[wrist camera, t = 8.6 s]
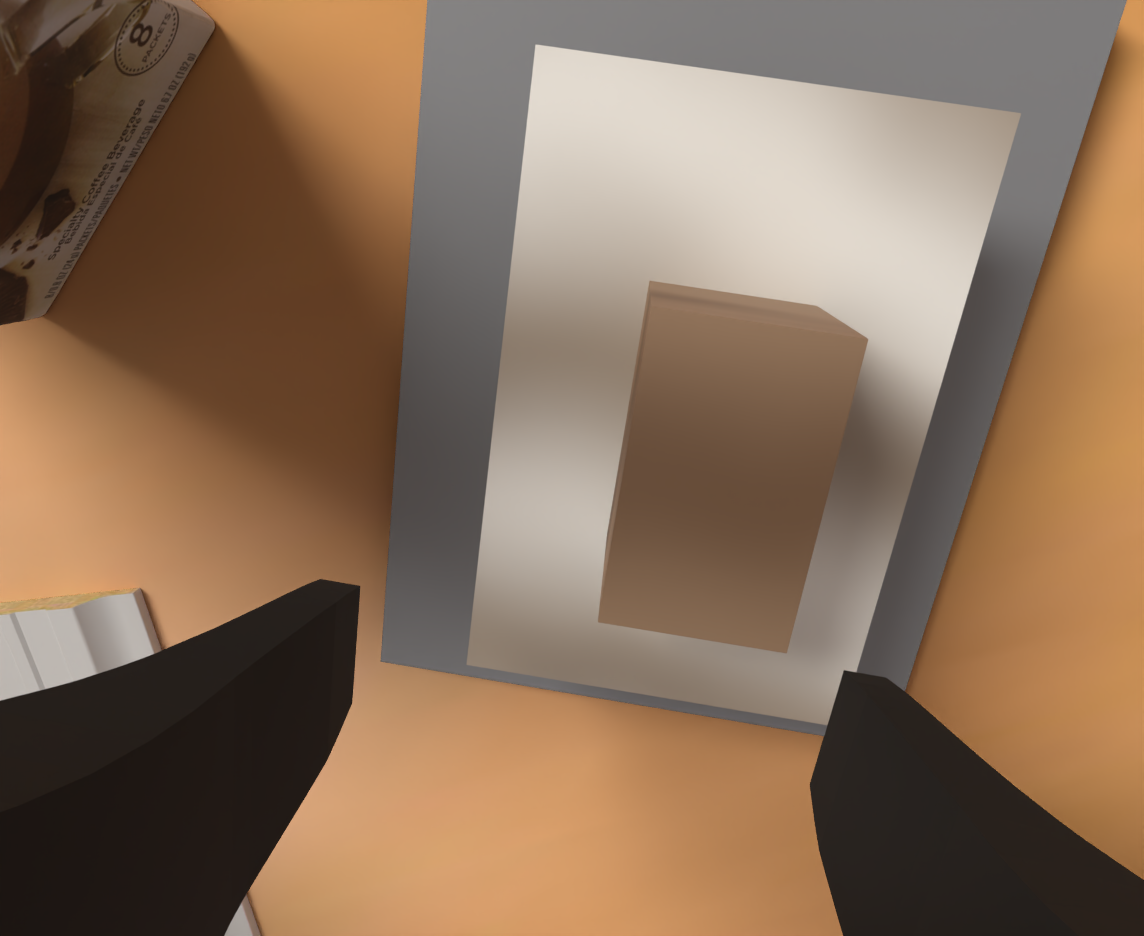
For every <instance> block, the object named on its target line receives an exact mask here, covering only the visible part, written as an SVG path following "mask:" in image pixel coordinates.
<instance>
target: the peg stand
mask: <svg viewBox="0 0 1144 936" xmlns="http://www.w3.org/2000/svg"><path fill="white" fill-rule="evenodd" d="M1126 1H1127V0H427V15H426V29H425V43H424V57H423V71H422V85H421V99H420V114H419V128H418V142H417V156H416V170H415V184H414V198H413V212H412V227H411V241H410V255H409V269H408V283H407V297H406V311H405V325H404V340H403V354H402V368H401V382H400V396H399V410H398V424H397V439H396V453H395V467H394V481H393V495H392V509H391V523H390V537H389V552H388V566H387V580H386V594H385V608H384V622H383V636H382V650H381V662H386V663H392V664H398V665H404V666H410V667H416V668H422V669H428V670H434V671H440V672H446V673H452V674H458V675H464V676H470V677H476V678H482V679H488V680H494V681H500V682H505V683H511V684H517V685H523V686H529V687H535V688H541V689H547V690H553V691H559V692H565V693H571V694H577V695H583V696H589V697H595V698H601V699H607V700H613V701H619V702H624V703H630V704H636V705H642V706H648V707H654V708H660V709H666V710H672V711H678V712H684V713H690V714H696V715H702V716H708V717H714V718H720V719H726V720H732V721H738V722H744V723H749V724H755V725H761V726H767V727H773V728H779V729H785V730H791V731H797V732H803V733H809V734H815V735H821V736H824V735H825V732H826V728H827V725H823V724H817V723H811V722H805V721H799V720H793V719H787V718H781V717H775V716H769V715H763V714H757V713H751V712H745V711H739V710H733V709H727V708H721V707H715V706H709V705H703V704H697V703H692V702H686V701H680V700H674V699H668V698H662V697H656V696H650V695H644V694H638V693H632V692H626V691H620V690H614V689H608V688H602V687H596V686H590V685H584V684H578V683H572V682H566V681H560V680H554V679H548V678H542V677H536V676H530V675H525V674H519V673H513V672H507V671H501V670H495V669H489V668H483V667H477V666H471V665H467V656H468V647H469V638H470V629H471V620H472V611H473V602H474V593H475V584H476V575H477V566H478V557H479V548H480V539H481V530H482V521H483V512H484V503H485V494H486V485H487V476H488V467H489V458H490V449H491V440H492V431H493V422H494V413H495V404H496V395H497V386H498V377H499V368H500V359H501V350H502V341H503V332H504V323H505V314H506V305H507V296H508V287H509V279H510V270H511V261H512V252H513V243H514V234H515V225H516V216H517V207H518V198H519V189H520V180H521V171H522V162H523V153H524V144H525V135H526V126H527V117H528V108H529V99H530V90H531V81H532V72H533V63H534V54H535V45H543V46H550V47H557V48H564V49H571V50H578V51H585V52H592V53H599V54H606V55H614V56H621V57H628V58H635V59H642V60H649V61H656V62H663V63H670V64H677V65H684V66H691V67H698V68H705V69H712V70H719V71H726V72H734V73H741V74H748V75H755V76H762V77H769V78H776V79H783V80H790V81H797V82H804V83H811V84H818V85H825V86H832V87H839V88H846V89H854V90H861V91H868V92H875V93H882V94H889V95H896V96H903V97H910V98H917V99H924V100H931V101H938V102H945V103H952V104H959V105H966V106H973V107H981V108H988V109H995V110H1002V111H1009V112H1016V113H1021V116H1020V119H1019V123H1018V126H1017V129H1016V133H1015V136H1014V140H1013V143H1012V146H1011V150H1010V153H1009V156H1008V160H1007V163H1006V167H1005V170H1004V173H1003V177H1002V180H1001V184H1000V187H999V190H998V194H997V197H996V201H995V204H994V207H993V211H992V214H991V217H990V221H989V224H988V228H987V231H986V234H985V238H984V241H983V245H982V248H981V251H980V255H979V258H978V262H977V265H976V268H975V272H974V275H973V278H972V282H971V285H970V289H969V292H968V295H967V299H966V302H965V306H964V309H963V312H962V316H961V319H960V322H959V326H958V329H957V333H956V336H955V339H954V343H953V346H952V350H951V353H950V356H949V360H948V363H947V367H946V370H945V373H944V377H943V380H942V383H941V387H940V390H939V394H938V397H937V400H936V404H935V407H934V411H933V414H932V417H931V421H930V424H929V427H928V431H927V434H926V438H925V441H924V444H923V448H922V451H921V455H920V458H919V461H918V465H917V468H916V472H915V475H914V478H913V482H912V485H911V488H910V492H909V495H908V499H907V502H906V505H905V509H904V512H903V516H902V519H901V522H900V526H899V529H898V532H897V536H896V539H895V543H894V546H893V549H892V553H891V556H890V560H889V563H888V566H887V570H886V573H885V577H884V580H883V583H882V587H881V590H880V593H879V597H878V600H877V604H876V607H875V610H874V614H873V617H872V621H871V624H870V627H869V631H868V634H867V637H866V641H865V644H864V648H863V651H862V654H861V658H860V661H859V665H858V668H857V671H856V672H858V673H863V674H869V675H875V676H881V677H886V678H887V679H889V680H890V681H892V682H893V683H894V684H896V685H897V686H898V687H900V688H901V689H902V690H903V691H905V690H906V686H907V683H908V680H909V677H910V674H911V671H912V668H913V665H914V662H915V658H916V655H917V652H918V649H919V646H920V643H921V640H922V637H923V634H924V630H925V627H926V624H927V621H928V618H929V615H930V612H931V609H932V605H933V602H934V599H935V596H936V593H937V590H938V587H939V584H940V581H941V577H942V574H943V571H944V568H945V565H946V562H947V559H948V556H949V552H950V549H951V546H952V543H953V540H954V537H955V534H956V531H957V528H958V524H959V521H960V518H961V515H962V512H963V509H964V506H965V503H966V500H967V496H968V493H969V490H970V487H971V484H972V481H973V478H974V475H975V471H976V468H977V465H978V462H979V459H980V456H981V453H982V450H983V447H984V443H985V440H986V437H987V434H988V431H989V428H990V425H991V422H992V418H993V415H994V412H995V409H996V406H997V403H998V400H999V397H1000V394H1001V390H1002V387H1003V384H1004V381H1005V378H1006V375H1007V372H1008V369H1009V366H1010V362H1011V359H1012V356H1013V353H1014V350H1015V347H1016V344H1017V341H1018V337H1019V334H1020V331H1021V328H1022V325H1023V322H1024V319H1025V316H1026V313H1027V309H1028V306H1029V303H1030V300H1031V297H1032V294H1033V291H1034V288H1035V285H1036V281H1037V278H1038V275H1039V272H1040V269H1041V266H1042V263H1043V260H1044V256H1045V253H1046V250H1047V247H1048V244H1049V241H1050V238H1051V235H1052V232H1053V228H1054V225H1055V222H1056V219H1057V216H1058V213H1059V210H1060V207H1061V203H1062V200H1063V197H1064V194H1065V191H1066V188H1067V185H1068V182H1069V179H1070V175H1071V172H1072V169H1073V166H1074V163H1075V160H1076V157H1077V154H1078V151H1079V147H1080V144H1081V141H1082V138H1083V135H1084V132H1085V129H1086V126H1087V122H1088V119H1089V116H1090V113H1091V110H1092V107H1093V104H1094V101H1095V98H1096V94H1097V91H1098V88H1099V85H1100V82H1101V79H1102V76H1103V73H1104V70H1105V66H1106V63H1107V60H1108V57H1109V54H1110V51H1111V48H1112V45H1113V41H1114V38H1115V35H1116V32H1117V29H1118V26H1119V23H1120V20H1121V17H1122V13H1123V10H1124V7H1125V4H1126Z"/></svg>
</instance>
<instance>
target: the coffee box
mask: <svg viewBox="0 0 1144 936" xmlns="http://www.w3.org/2000/svg"><path fill="white" fill-rule="evenodd" d="M214 29H215V23H214V21H213V20H212V19H211V18H210V17H209V16H208V15H207V13H205V12H204V11H203V10H202V9H201V8H200V7H198V6H197V5H196V4H195V3H194V2H193V1H192V0H0V325H4V324H9V323H13V322H20V321H26V320H30V319H33V318H38V317H41V316H43V315H44V314H46V312H47V310H48V309H49V307H50V306H51V304H52V302H53V301H54V299H55V298H56V296H57V295H58V293H59V291H60V290H61V288H62V286H63V284H64V283H65V281H66V279H67V277H68V276H69V274H70V272H71V271H72V269H73V267H74V265H75V264H76V262H77V260H78V259H79V257H80V255H81V253H82V252H83V250H84V248H85V247H86V245H87V243H88V242H89V240H90V238H91V237H92V235H93V233H94V231H95V230H96V228H97V226H98V225H99V223H100V221H101V220H102V218H103V216H104V215H105V213H106V211H107V210H108V208H109V206H110V205H111V203H112V201H113V200H114V198H115V196H116V194H117V193H118V191H119V189H120V188H121V186H122V184H123V183H124V181H125V179H126V178H127V176H128V174H129V173H130V171H131V169H132V168H133V166H134V164H135V162H136V161H137V159H138V157H139V156H140V154H141V152H142V151H143V149H144V147H145V145H146V144H147V142H148V140H149V139H150V137H151V135H152V134H153V132H154V130H155V129H156V127H157V125H158V123H159V122H160V120H161V118H162V117H163V115H164V113H165V112H166V110H167V108H168V107H169V105H170V103H171V102H172V100H173V98H174V97H175V95H176V93H177V92H178V90H179V88H180V87H181V85H182V83H183V81H184V80H185V78H186V76H187V75H188V73H189V71H190V69H191V68H192V66H193V64H194V63H195V61H196V59H197V58H198V56H199V54H200V52H201V51H202V49H203V47H204V46H205V44H206V42H207V41H208V39H209V37H210V36H211V34H212V32H213V31H214Z"/></svg>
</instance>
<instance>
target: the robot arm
mask: <svg viewBox="0 0 1144 936" xmlns="http://www.w3.org/2000/svg"><path fill="white" fill-rule="evenodd" d="M359 598H360V586H357V585H351V584H346V583H340V582H334V581H328V580H323V579H319V580H317V581H314V582H312V583H309V584H307V585H305V586H302V587H300V588H298V589H296V590H294V591H292V592H290V593H287V594H285V595H283V596H281V597H279V598H277V599H275V600H273V601H271V602H269V603H267V604H265V605H263V606H261V607H259V608H256V609H254V610H252V611H250V612H248V613H246V614H244V615H242V616H240V617H238V618H235V619H233V620H231V621H229V622H227V623H225V624H223V625H221V626H219V627H216V628H214V629H212V630H209V631H207V632H205V633H202V634H200V635H198V636H195V637H193V638H190V639H188V640H186V641H183V642H181V643H179V644H176V645H174V646H172V647H169V648H167V649H164V650H162V651H160V652H157V653H155V654H152V655H150V656H147V657H145V658H142V659H139V660H136V661H134V662H131V663H128V664H125V665H123V666H120V667H117V668H114V669H111V670H108V671H105V672H101V673H98V674H95V675H92V676H89V677H86V678H83V679H80V680H77V681H73V682H70V683H66V684H63V685H59V686H55V687H51V688H48V689H44V690H40V691H36V692H32V693H28V694H24V695H20V696H16V697H12V698H8V699H5V700H1V701H0V936H224V935H225V933H226V931H227V929H228V927H229V925H230V923H231V921H232V919H233V917H234V916H235V914H236V912H237V910H238V908H239V907H240V905H241V903H242V901H243V899H244V898H245V896H246V894H247V892H248V890H249V889H250V887H251V885H252V884H253V882H254V880H255V879H256V877H257V876H258V874H259V872H260V871H261V869H262V867H263V866H264V864H265V862H266V861H267V859H268V857H269V856H270V854H271V853H272V851H273V849H274V848H275V846H276V844H277V843H278V841H279V839H280V838H281V836H282V835H283V833H284V831H285V830H286V828H287V826H288V825H289V823H290V821H291V820H292V818H293V817H294V815H295V813H296V812H297V810H298V808H299V807H300V805H301V803H302V802H303V800H304V798H305V797H306V795H307V793H308V792H309V790H310V788H311V787H312V785H313V783H314V782H315V780H316V778H317V777H318V775H319V773H320V772H321V770H322V768H323V766H324V765H325V763H326V761H327V759H328V757H329V755H330V753H331V751H332V748H333V746H334V744H335V742H336V739H337V737H338V735H339V733H340V730H341V728H342V726H343V723H344V721H345V718H346V716H347V714H348V711H349V709H350V707H351V704H352V698H353V683H354V669H355V655H356V641H357V626H358V612H359ZM810 790H811V798H812V805H813V813H814V821H815V827H816V833H817V840H818V846H819V851H820V855H821V859H822V862H823V866H824V870H825V873H826V877H827V880H828V884H829V888H830V891H831V895H832V898H833V902H834V905H835V909H836V912H837V916H838V919H839V923H840V926H841V929H842V933H843V936H1144V880H1143V879H1141V878H1140V877H1138V876H1137V875H1135V874H1134V873H1132V872H1131V871H1129V870H1128V869H1126V868H1125V867H1124V866H1122V865H1121V864H1119V863H1118V862H1116V861H1115V860H1113V859H1112V858H1110V857H1109V856H1108V855H1106V854H1105V853H1103V852H1102V851H1100V850H1099V849H1097V848H1096V847H1094V846H1093V845H1092V844H1090V843H1089V842H1087V841H1086V840H1084V839H1083V838H1082V837H1080V836H1079V835H1077V834H1076V833H1075V832H1073V831H1072V830H1071V829H1069V828H1068V827H1066V826H1065V825H1064V824H1062V823H1061V822H1060V821H1058V820H1057V819H1056V818H1055V817H1053V816H1052V815H1051V814H1049V813H1048V812H1047V811H1046V810H1044V809H1043V808H1042V807H1041V806H1039V805H1038V804H1037V803H1035V802H1034V801H1033V800H1032V799H1030V798H1029V797H1028V796H1027V795H1025V794H1024V793H1023V792H1021V791H1020V790H1019V789H1018V788H1016V787H1015V786H1014V785H1013V784H1012V783H1010V782H1009V781H1008V780H1007V779H1006V778H1004V777H1003V776H1002V775H1001V774H999V773H998V772H997V771H996V770H995V769H994V768H992V767H991V766H990V765H989V764H988V763H986V762H985V761H984V760H983V759H982V758H981V757H979V756H978V755H977V754H976V753H975V752H974V751H972V750H971V749H970V748H969V747H968V746H967V745H966V744H964V743H963V742H962V741H961V740H960V739H959V738H958V737H956V736H955V735H954V734H953V733H952V732H951V731H950V730H948V729H947V728H946V727H945V726H944V725H943V724H942V723H940V722H939V721H938V720H937V719H936V718H935V717H934V716H933V715H931V714H930V713H929V712H928V711H927V710H926V709H925V708H923V707H922V706H921V705H920V704H919V703H918V702H916V701H915V700H914V699H913V698H912V697H911V696H909V695H908V694H907V693H906V692H905V691H903V690H902V689H901V688H900V687H898V686H897V685H896V684H894V683H893V682H892V681H890V680H889V679H887V678H886V677H881V676H875V675H869V674H863V673H858V672H852V671H846V670H844V671H843V675H842V678H841V681H840V685H839V688H838V692H837V695H836V698H835V702H834V705H833V708H832V712H831V715H830V718H829V722H828V725H827V728H826V732H825V735H824V739H823V742H822V745H821V749H820V752H819V755H818V759H817V762H816V765H815V769H814V772H813V775H812V779H811V782H810Z"/></svg>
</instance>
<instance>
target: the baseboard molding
mask: <svg viewBox="0 0 1144 936" xmlns="http://www.w3.org/2000/svg"><path fill="white" fill-rule="evenodd" d="M160 651H162V649H161V647H160V644H159V641H158V638H157V635H156V632H155V629H154V626H153V624H152V621H151V618H150V615H149V612H148V609H147V606H146V603H145V600H144V598H143V595H142V592H141V589H140V588H133V589H124V590H115V591H105V592H96V593H87V594H77V595H68V596H59V597H49V598H40V599H30V600H21V601H12V602H2V603H0V701H1V700H5V699H8V698H12V697H16V696H20V695H24V694H28V693H32V692H36V691H40V690H44V689H48V688H51V687H55V686H59V685H63V684H66V683H70V682H73V681H77V680H80V679H83V678H86V677H89V676H92V675H95V674H98V673H101V672H105V671H108V670H111V669H114V668H117V667H120V666H123V665H125V664H128V663H131V662H134V661H136V660H139V659H142V658H145V657H147V656H150V655H152V654H155V653H157V652H160ZM224 936H261V935H260V932H259V929H258V926H257V923H256V920H255V917H254V914H253V912H252V909H251V906H250V903H249V900H248V897H247V894H246V896H245V898H244V899H243V901H242V903H241V905H240V907H239V908H238V910H237V912H236V914H235V916H234V917H233V919H232V921H231V923H230V925H229V927H228V929H227V931H226V933H225V935H224Z"/></svg>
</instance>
